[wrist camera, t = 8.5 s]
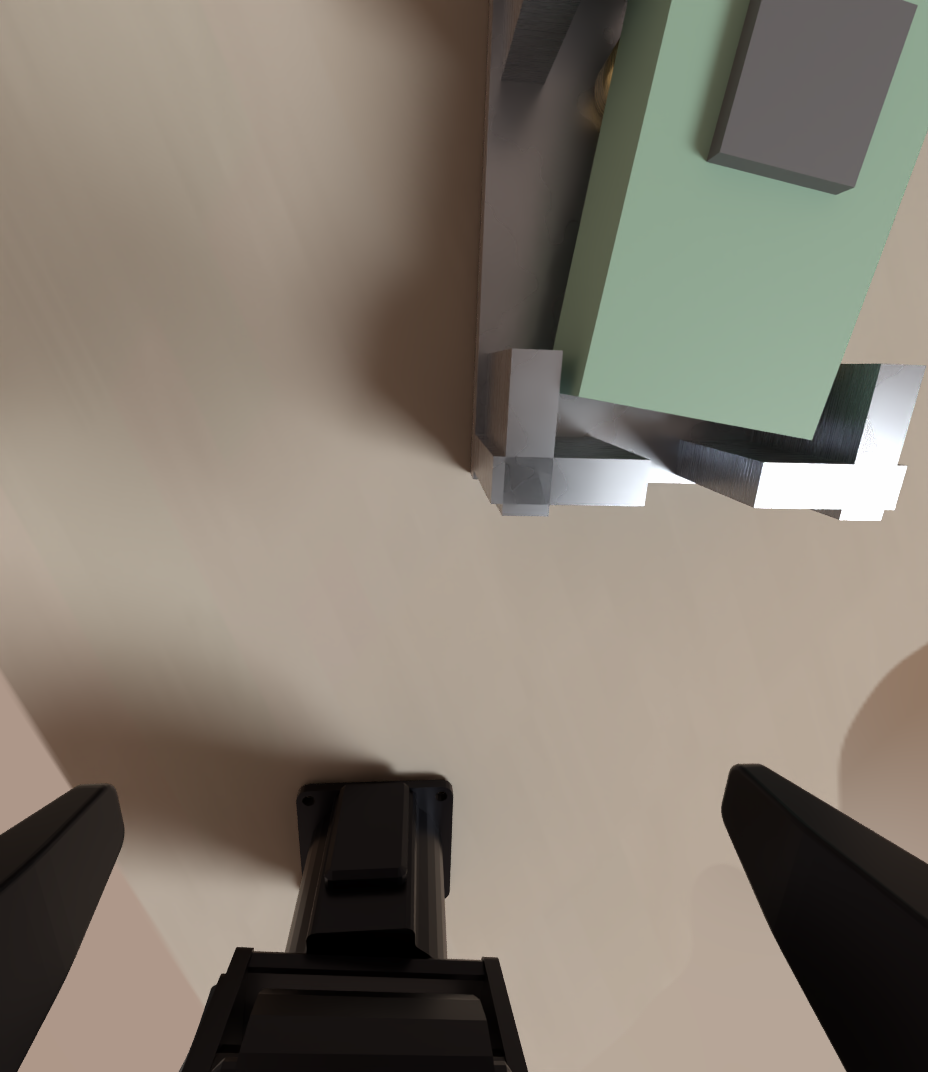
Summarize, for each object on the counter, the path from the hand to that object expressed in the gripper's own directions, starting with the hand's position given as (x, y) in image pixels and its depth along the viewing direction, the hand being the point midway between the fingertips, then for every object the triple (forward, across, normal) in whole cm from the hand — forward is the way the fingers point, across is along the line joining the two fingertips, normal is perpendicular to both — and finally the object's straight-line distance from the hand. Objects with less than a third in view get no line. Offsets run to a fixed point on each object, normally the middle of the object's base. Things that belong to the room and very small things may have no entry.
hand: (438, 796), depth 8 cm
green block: (+10, -7, -10) cm, 15 cm away
